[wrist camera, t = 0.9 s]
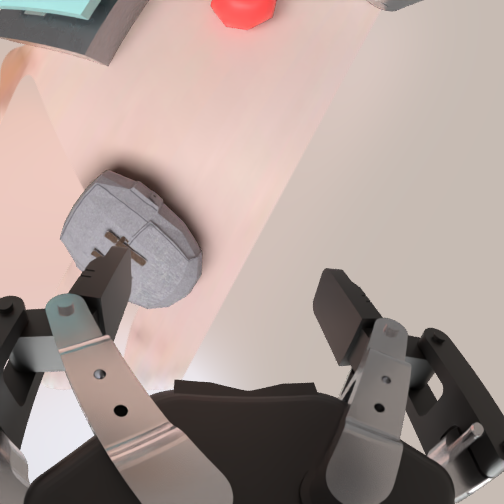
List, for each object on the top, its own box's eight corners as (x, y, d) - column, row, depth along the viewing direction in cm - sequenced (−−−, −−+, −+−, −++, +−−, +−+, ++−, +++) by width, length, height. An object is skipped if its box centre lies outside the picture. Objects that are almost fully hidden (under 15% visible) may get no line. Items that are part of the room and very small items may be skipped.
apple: (265, -14, 26) (277, -40, 19) (277, 32, 29) (293, 13, 22) (205, -7, 25) (204, -34, 18) (215, 41, 29) (217, 21, 22)
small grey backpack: (63, 230, 37) (162, 308, 45) (38, 255, 29) (155, 344, 37) (119, 150, 34) (226, 245, 41) (96, 159, 26) (230, 274, 34)
